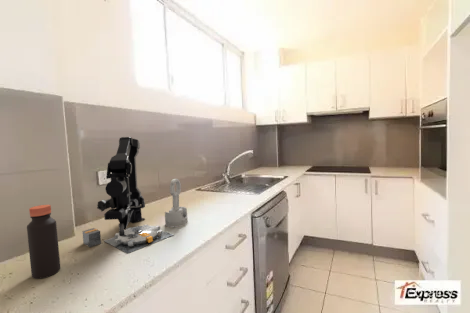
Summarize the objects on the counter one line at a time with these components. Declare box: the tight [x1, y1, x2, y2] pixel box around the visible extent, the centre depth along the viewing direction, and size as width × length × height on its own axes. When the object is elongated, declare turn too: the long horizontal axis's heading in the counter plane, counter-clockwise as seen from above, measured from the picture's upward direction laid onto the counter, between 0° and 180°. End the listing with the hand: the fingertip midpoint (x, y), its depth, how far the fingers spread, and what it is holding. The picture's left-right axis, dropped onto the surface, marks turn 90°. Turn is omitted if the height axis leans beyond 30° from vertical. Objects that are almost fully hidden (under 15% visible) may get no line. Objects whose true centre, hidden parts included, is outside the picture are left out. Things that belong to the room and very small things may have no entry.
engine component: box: [164, 178, 189, 228], centre depth 112 cm, size 11×20×10 cm
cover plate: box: [103, 230, 174, 254], centre depth 96 cm, size 19×19×1 cm
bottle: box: [26, 204, 61, 280], centre depth 71 cm, size 7×7×20 cm
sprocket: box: [114, 222, 163, 246], centre depth 96 cm, size 18×18×6 cm
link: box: [82, 227, 102, 248], centre depth 93 cm, size 6×4×5 cm, turn 51°
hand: (124, 229), depth 96 cm, fingers closed
